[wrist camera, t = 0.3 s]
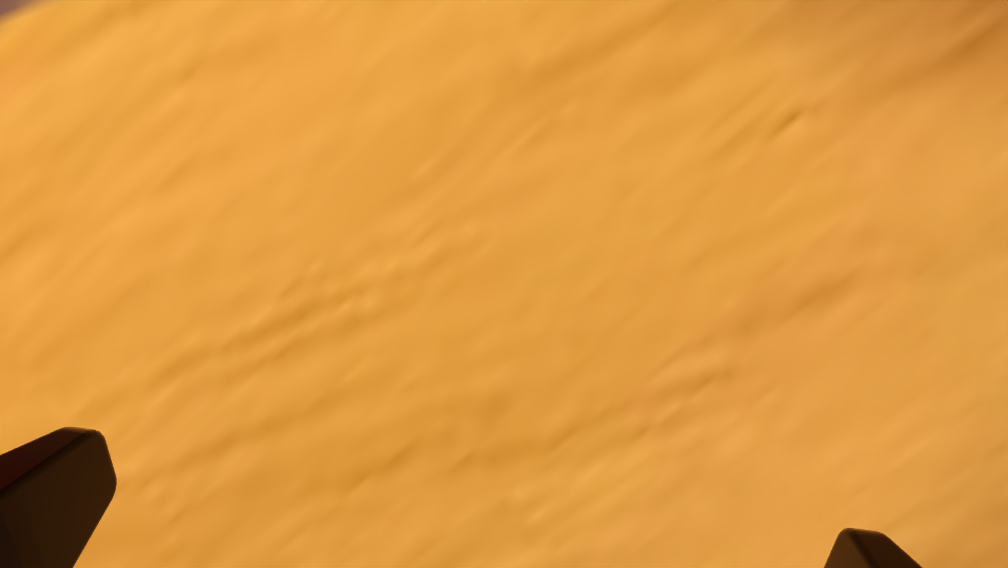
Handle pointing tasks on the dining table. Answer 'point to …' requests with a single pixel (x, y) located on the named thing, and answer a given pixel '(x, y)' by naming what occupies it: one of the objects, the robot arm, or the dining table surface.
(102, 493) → the robot arm
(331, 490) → the dining table surface
